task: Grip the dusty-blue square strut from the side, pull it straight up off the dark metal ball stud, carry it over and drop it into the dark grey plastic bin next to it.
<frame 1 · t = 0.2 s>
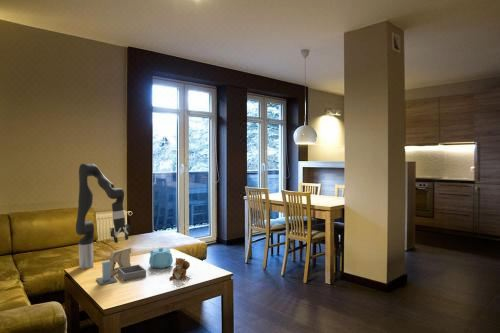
hand: (121, 241, 237), 22 cm above the table, tool pointing down, fingers open, 8 cm apart
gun: (120, 270, 245), on the table
decorative pot: (161, 266, 252), on the table
stud plate: (106, 280, 223), on the table
stuffed squirrel: (180, 277, 229), on the table
strut: (106, 279, 223), point 1 cm above the table, touching stud plate
bin: (132, 275, 232), on the table
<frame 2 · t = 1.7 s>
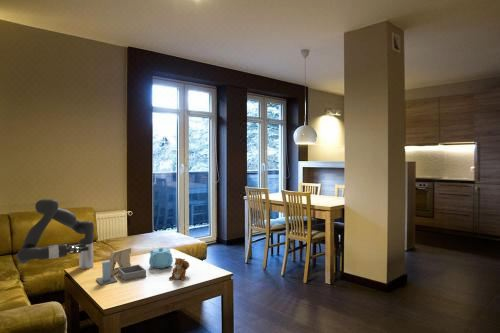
hand: (87, 247, 216), 23 cm above the table, tool horizontal, fingers open, 8 cm apart
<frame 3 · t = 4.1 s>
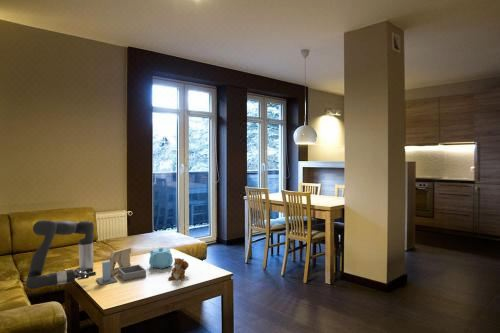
hand: (94, 271, 219), 7 cm above the table, tool horizontal, fingers open, 8 cm apart
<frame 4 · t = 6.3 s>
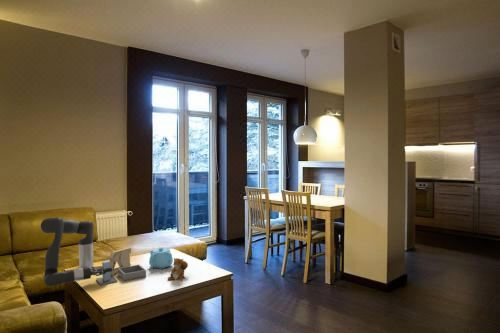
hand: (110, 268, 225), 7 cm above the table, tool horizontal, fingers closed on strut, 4 cm apart
strut: (106, 279, 223), point 1 cm above the table, touching gripper, stud plate
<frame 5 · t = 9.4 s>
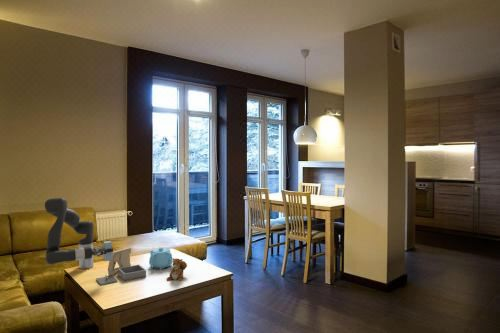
hand: (112, 249, 225), 20 cm above the table, tool horizontal, fingers closed on strut, 4 cm apart
strut: (107, 259, 224), point 13 cm above the table, touching gripper
when the fingers open (10 cm above the table, at t = 12.4 s): strut drops 3 cm, resting on bin.
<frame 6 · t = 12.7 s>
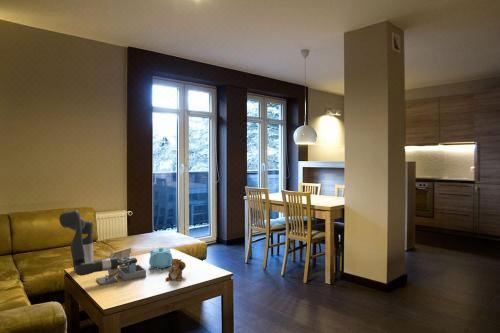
hand: (135, 259, 234), 10 cm above the table, tool horizontal, fingers open, 6 cm apart
strut: (132, 274, 232), point 1 cm above the table, touching bin
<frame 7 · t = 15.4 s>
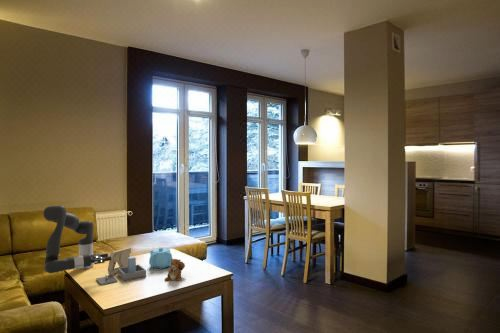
hand: (109, 256, 225), 15 cm above the table, tool horizontal, fingers open, 8 cm apart
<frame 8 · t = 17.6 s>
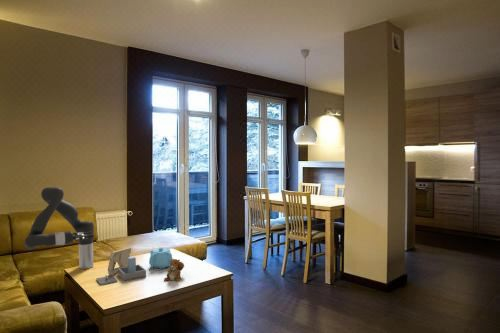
hand: (92, 234, 222), 30 cm above the table, tool horizontal, fingers open, 8 cm apart
at the end: strut inside the target area on the bin (0.1 cm from its centre), point 0.8 cm above the bin's base; the gripper is holding nothing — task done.
